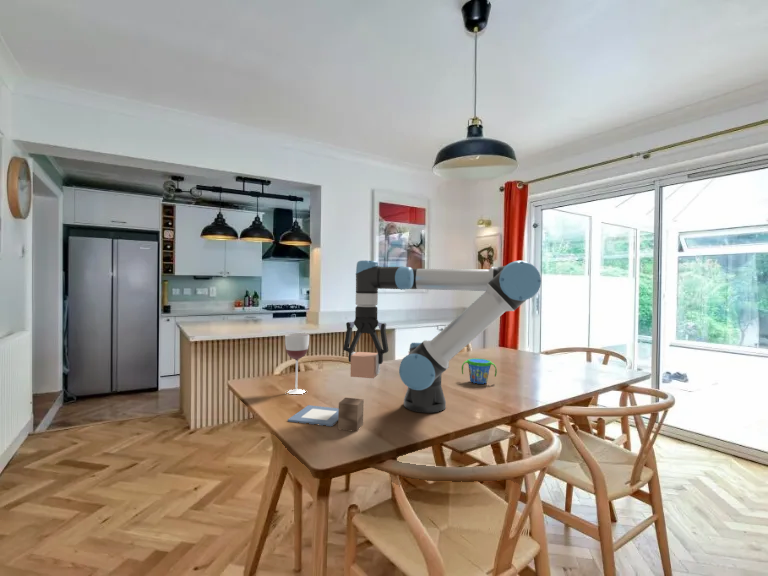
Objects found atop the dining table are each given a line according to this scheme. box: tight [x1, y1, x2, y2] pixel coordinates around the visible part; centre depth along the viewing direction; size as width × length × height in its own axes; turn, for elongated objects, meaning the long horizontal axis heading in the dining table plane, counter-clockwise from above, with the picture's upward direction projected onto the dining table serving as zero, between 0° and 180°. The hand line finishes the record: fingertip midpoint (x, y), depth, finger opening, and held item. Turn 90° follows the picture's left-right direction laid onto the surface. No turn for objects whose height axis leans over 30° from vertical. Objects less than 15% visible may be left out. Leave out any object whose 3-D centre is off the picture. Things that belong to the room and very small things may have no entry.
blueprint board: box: [287, 404, 339, 427], centre depth 127 cm, size 15×15×1 cm
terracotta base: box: [350, 351, 379, 379], centre depth 132 cm, size 8×8×7 cm
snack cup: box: [461, 357, 498, 385], centre depth 176 cm, size 16×10×10 cm
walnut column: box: [337, 397, 364, 432], centre depth 118 cm, size 6×6×8 cm
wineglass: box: [284, 332, 310, 395], centre depth 154 cm, size 9×10×23 cm
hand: (365, 372), depth 132 cm, fingers closed on terracotta base, 8 cm apart
